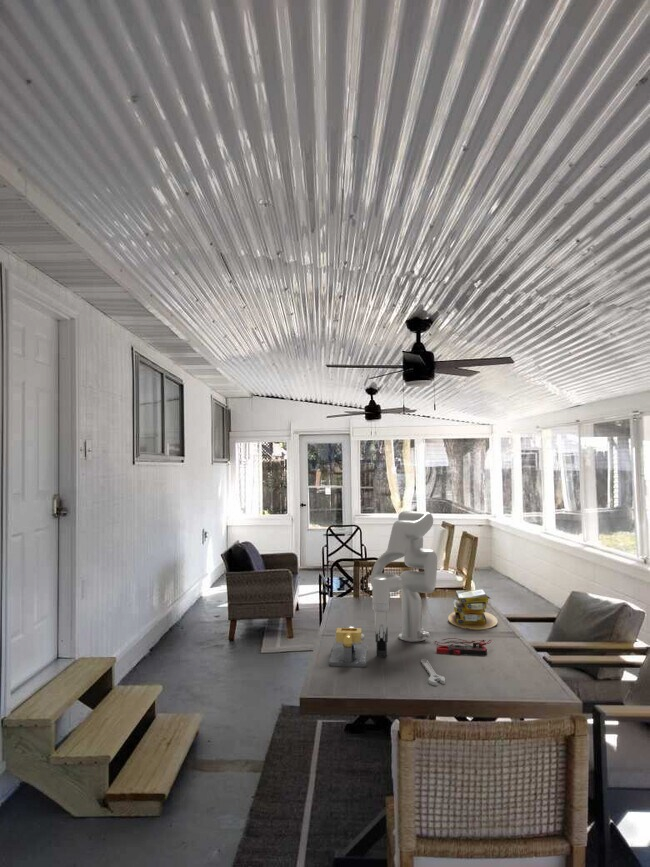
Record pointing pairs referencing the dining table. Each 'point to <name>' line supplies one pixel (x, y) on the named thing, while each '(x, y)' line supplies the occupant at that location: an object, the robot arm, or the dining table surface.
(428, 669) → the adjustable wrench
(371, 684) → the dining table surface
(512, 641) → the dining table surface
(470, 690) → the dining table surface
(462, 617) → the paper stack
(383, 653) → the wedge
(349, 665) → the multicoloured piece
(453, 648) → the digital clamp meter
